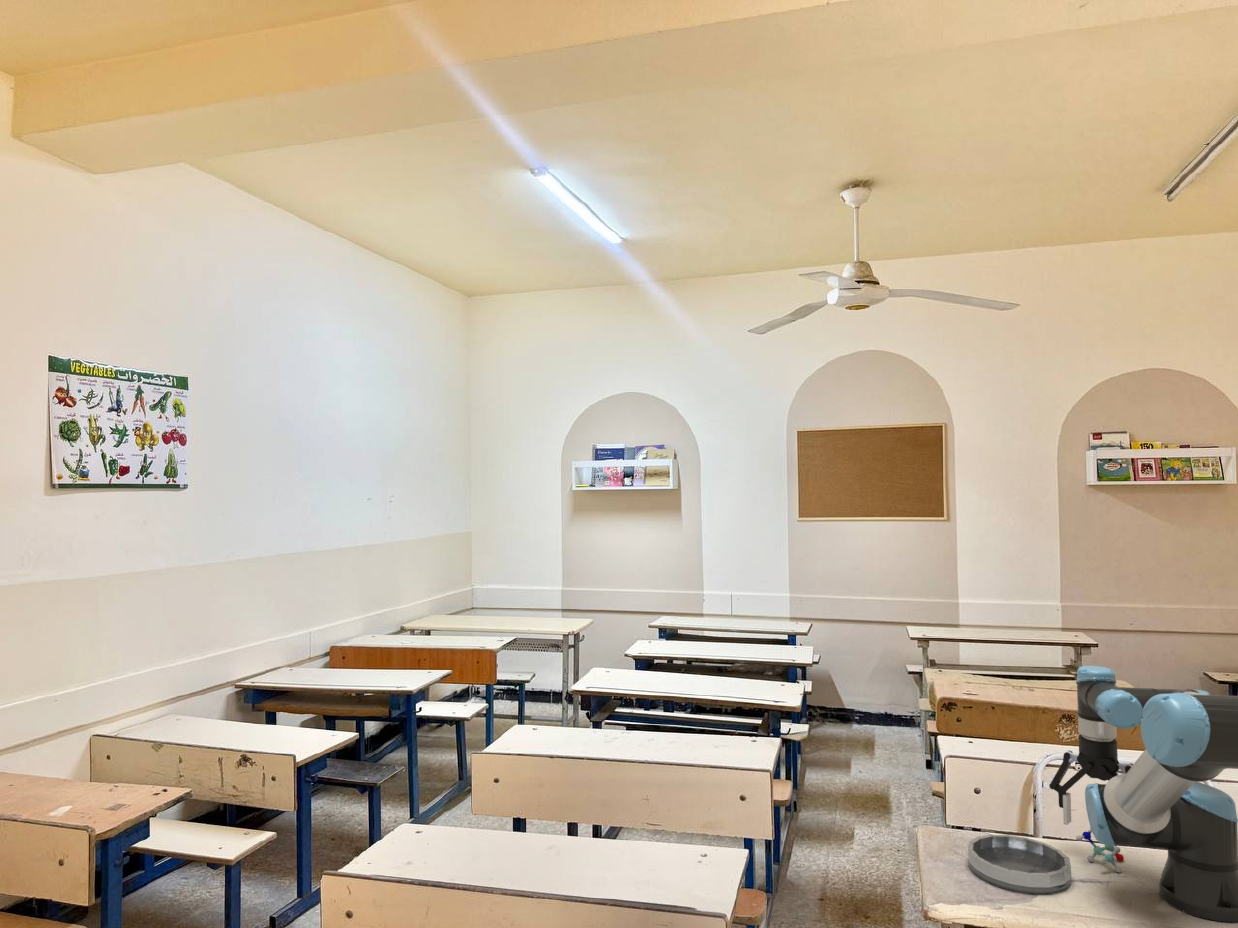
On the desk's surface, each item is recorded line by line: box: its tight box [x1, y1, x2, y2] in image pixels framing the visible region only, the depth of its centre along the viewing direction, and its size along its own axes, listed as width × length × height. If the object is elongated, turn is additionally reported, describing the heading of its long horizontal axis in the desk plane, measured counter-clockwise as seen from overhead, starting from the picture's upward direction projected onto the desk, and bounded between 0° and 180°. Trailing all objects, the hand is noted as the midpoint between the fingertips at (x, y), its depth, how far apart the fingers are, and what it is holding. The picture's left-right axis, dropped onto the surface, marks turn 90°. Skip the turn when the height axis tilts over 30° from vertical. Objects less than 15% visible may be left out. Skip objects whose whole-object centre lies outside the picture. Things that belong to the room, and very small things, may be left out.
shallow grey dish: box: [967, 834, 1072, 896], centre depth 177 cm, size 20×20×4 cm
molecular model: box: [1075, 827, 1125, 874], centre depth 181 cm, size 12×10×10 cm
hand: (1100, 831), depth 182 cm, fingers open, 13 cm apart
